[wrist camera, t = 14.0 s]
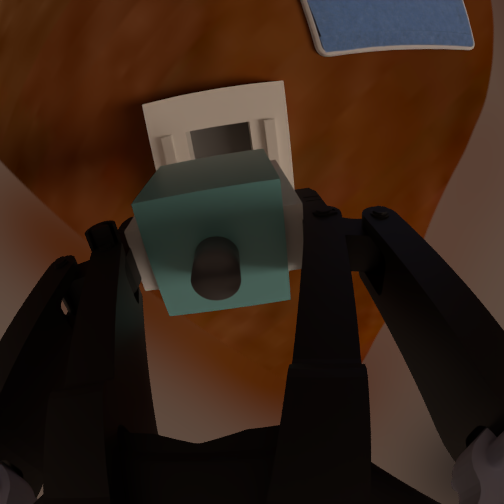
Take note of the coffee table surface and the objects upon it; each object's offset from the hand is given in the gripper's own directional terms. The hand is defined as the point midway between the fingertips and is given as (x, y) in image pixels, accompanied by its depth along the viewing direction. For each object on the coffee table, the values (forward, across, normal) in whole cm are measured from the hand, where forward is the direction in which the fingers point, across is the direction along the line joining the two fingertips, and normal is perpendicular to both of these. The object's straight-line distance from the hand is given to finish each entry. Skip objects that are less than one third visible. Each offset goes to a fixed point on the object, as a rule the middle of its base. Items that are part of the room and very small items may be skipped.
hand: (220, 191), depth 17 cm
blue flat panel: (+12, +18, +15) cm, 26 cm away
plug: (+1, 0, 0) cm, 1 cm away
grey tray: (+11, 0, -3) cm, 11 cm away
